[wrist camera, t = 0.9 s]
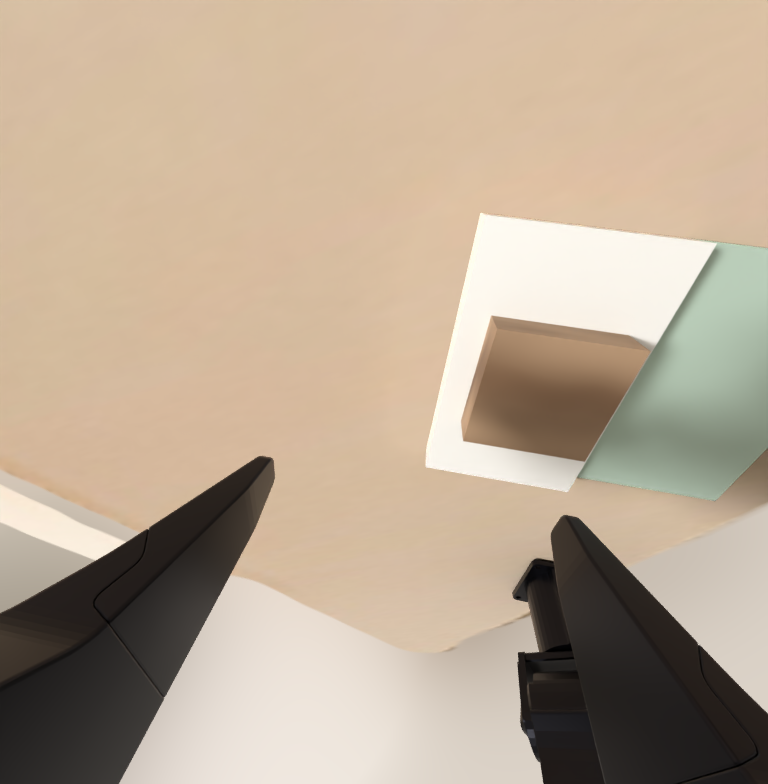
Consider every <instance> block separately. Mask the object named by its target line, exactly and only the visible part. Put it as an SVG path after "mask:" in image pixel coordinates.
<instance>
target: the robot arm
mask: <svg viewBox="0 0 768 784" xmlns="http://www.w3.org/2000/svg"><path fill="white" fill-rule="evenodd" d="M274 479H275V472H274V461H273V459H272V458H271V457H265V456H259V457H257V458H255V459H254V460H252V461H251V462H249V463H247V464H246V465H244V466H243V467H241V468H240V469H238V470H237V471H235V472H234V473H232V474H231V475H229V476H227V477H226V478H224V479H223V480H221V481H220V482H218V483H217V484H215V485H214V486H212V487H211V488H209V489H208V490H206V491H204V492H203V493H201V494H200V495H198V496H197V497H195V498H194V499H192V500H191V501H189V502H188V503H186V504H184V505H183V506H181V507H180V508H178V509H177V510H175V511H174V512H172V513H171V514H169V515H168V516H166V517H165V518H163V519H161V520H160V521H158V522H157V523H155V524H154V525H152V526H151V527H150V528H149V530H148V529H146V530H144V531H143V532H141V533H140V534H138V535H137V536H135V537H134V538H132V539H131V540H129V541H127V542H126V543H124V544H123V545H121V546H119V547H118V548H116V549H115V550H113V551H111V552H110V553H108V554H106V555H105V556H103V557H101V558H99V559H98V560H96V561H94V562H92V563H91V564H89V565H87V566H86V567H84V568H82V569H80V570H79V571H77V572H75V573H73V574H71V575H70V576H68V577H66V578H64V579H62V580H61V581H59V582H57V583H56V584H54V585H52V586H50V587H48V588H46V589H45V590H43V591H41V592H39V593H37V594H36V595H34V596H32V597H30V598H29V599H27V600H25V601H23V602H21V603H19V604H18V605H16V606H14V607H12V608H10V609H8V610H6V611H4V612H1V613H0V784H119V782H120V780H121V779H122V777H123V775H124V773H125V771H126V769H127V767H128V766H129V763H130V762H131V760H132V758H133V756H134V754H135V752H136V751H137V748H138V747H139V745H140V743H141V741H142V739H143V737H144V736H145V734H146V731H147V730H148V728H149V726H150V724H151V722H152V721H153V719H154V717H155V715H156V713H157V711H158V709H159V707H160V706H161V704H162V702H163V700H164V697H165V696H166V694H167V692H168V690H169V688H170V687H171V685H172V683H173V681H174V679H175V677H176V675H177V674H178V672H179V670H180V668H181V666H182V664H183V662H184V660H185V658H186V657H187V655H188V653H189V651H190V649H191V647H192V645H193V644H194V641H195V640H196V638H197V636H198V634H199V632H200V631H201V629H202V627H203V625H204V623H205V621H206V619H207V617H208V616H209V614H210V612H211V610H212V608H213V606H214V604H215V603H216V600H217V599H218V597H219V595H220V593H221V591H222V589H223V587H224V586H225V584H226V582H227V580H228V578H229V576H230V574H231V573H232V571H233V569H234V567H235V565H236V563H237V561H238V560H239V558H240V556H241V554H242V552H243V550H244V548H245V546H246V545H247V543H248V541H249V539H250V537H251V535H252V533H253V531H254V529H255V527H256V525H257V522H258V520H259V518H260V515H261V513H262V510H263V508H264V505H265V503H266V500H267V498H268V495H269V493H270V490H271V488H272V485H273V483H274ZM551 544H552V551H553V558H554V563H551V562H546V561H541V560H534V561H532V562H531V563H530V565H529V567H528V568H527V570H526V572H525V573H524V575H523V576H522V578H521V580H520V581H519V583H518V584H517V586H516V588H515V589H514V591H513V593H512V594H513V598H514V599H516V600H520V601H525V602H528V604H529V608H530V613H531V617H532V621H533V626H534V630H535V635H536V639H537V644H538V648H539V652H537V653H525V652H518V658H519V662H518V675H519V687H520V699H521V716H520V717H521V718H520V723H521V727H522V730H523V731H524V733H525V734H526V735H527V736H528V738H529V740H530V744H531V747H532V750H533V753H534V755H535V757H536V759H537V760H538V761H539V762H540V763H541V770H542V777H543V783H544V784H768V713H767V712H766V711H764V710H763V709H762V708H761V707H760V706H759V705H758V704H757V703H756V702H755V701H754V700H753V699H752V698H751V697H750V696H749V695H748V694H747V693H746V692H745V691H744V690H743V689H742V688H741V687H740V686H739V685H738V684H737V683H736V682H735V681H734V680H733V679H732V678H731V677H730V676H729V675H728V674H727V673H726V672H725V671H724V670H723V669H722V668H721V667H720V665H719V664H718V663H717V662H716V661H715V660H714V659H713V658H712V657H711V656H710V655H709V654H708V653H707V652H706V651H705V650H704V649H703V648H702V647H701V646H700V645H698V644H697V642H696V640H695V639H694V638H693V637H692V636H691V635H690V634H689V633H688V632H687V631H686V630H685V629H684V628H683V627H682V626H681V625H680V624H679V623H678V622H677V621H676V620H675V618H674V617H672V615H671V614H670V613H669V612H668V611H667V610H666V609H665V608H664V607H663V606H662V605H661V604H660V603H659V602H658V601H657V600H656V599H655V598H654V597H653V595H651V594H650V592H649V591H648V590H647V589H646V588H645V587H644V586H643V585H642V584H641V583H640V582H639V581H638V580H637V579H636V578H635V576H633V574H632V573H631V572H630V571H629V570H628V569H627V568H626V567H625V566H624V565H623V564H622V563H621V562H620V561H619V560H618V559H617V558H616V557H615V555H614V554H613V553H612V552H611V551H610V550H609V549H608V548H607V547H606V546H605V545H604V544H603V543H602V542H601V541H600V540H599V539H598V538H597V537H596V536H595V534H594V533H593V532H592V531H591V530H590V529H589V528H588V527H587V526H586V525H585V524H584V523H583V522H582V521H581V520H580V519H579V518H577V517H573V516H568V515H563V516H562V517H561V518H560V519H559V521H558V522H557V524H556V525H555V527H554V528H553V530H552V532H551Z"/></svg>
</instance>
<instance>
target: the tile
mask: <svg viewBox="0 0 768 784" xmlns="http://www.w3.org/2000/svg"><path fill="white" fill-rule="evenodd" d="M650 352H651V351H650V350H648V349H647V348H646V347H644V346H643V345H642V344H640V343H639V342H638V341H636V340H635V339H633V338H632V337H631V336H629V335H624V334H617V333H610V332H603V331H596V330H589V329H582V328H575V327H568V326H562V325H555V324H548V323H541V322H534V321H527V320H520V319H513V318H506V317H499V316H492V315H491V318H490V321H489V325H488V328H487V332H486V335H485V339H484V342H483V346H482V349H481V353H480V356H479V360H478V363H477V367H476V370H475V374H474V377H473V380H472V384H471V387H470V391H469V394H468V398H467V401H466V405H465V408H464V412H463V415H462V419H461V428H462V437H463V441H465V442H471V443H477V444H483V445H489V446H495V447H500V448H506V449H512V450H518V451H524V452H530V453H536V454H542V455H548V456H554V457H560V458H565V459H571V460H577V461H583V462H585V461H586V459H587V457H588V456H589V454H590V452H591V451H592V449H593V447H594V446H595V444H596V442H597V441H598V439H599V437H600V435H601V434H602V432H603V430H604V429H605V427H606V425H607V424H608V422H609V420H610V419H611V417H612V415H613V414H614V412H615V410H616V409H617V407H618V405H619V404H620V402H621V400H622V399H623V397H624V395H625V394H626V392H627V390H628V389H629V387H630V385H631V384H632V382H633V380H634V379H635V377H636V375H637V374H638V372H639V370H640V369H641V367H642V365H643V364H644V362H645V360H646V359H647V357H648V355H649V354H650Z"/></svg>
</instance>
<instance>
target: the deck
mask: <svg viewBox="0 0 768 784" xmlns="http://www.w3.org/2000/svg"><path fill="white" fill-rule="evenodd" d="M716 245H717V243H712V242H706V241H700V240H695V239H689V238H682V237H673V236H665V235H657V234H649V233H641V232H633V231H625V230H617V229H609V228H600V227H592V226H584V225H576V224H568V223H560V222H552V221H544V220H536V219H528V218H519V217H511V216H503V215H495V214H487V213H480V217H479V222H478V226H477V231H476V235H475V239H474V244H473V248H472V252H471V257H470V261H469V265H468V270H467V274H466V278H465V283H464V287H463V291H462V296H461V300H460V305H459V309H458V313H457V318H456V322H455V326H454V331H453V335H452V339H451V344H450V348H449V352H448V357H447V361H446V365H445V370H444V374H443V379H442V383H441V387H440V392H439V396H438V400H437V405H436V409H435V413H434V418H433V422H432V426H431V431H430V435H429V439H428V444H427V448H426V467H428V468H433V469H439V470H445V471H450V472H456V473H462V474H468V475H473V476H479V477H485V478H490V479H496V480H502V481H507V482H513V483H519V484H524V485H530V486H536V487H542V488H547V489H553V490H559V491H564V492H568V491H569V489H570V488H571V486H572V484H573V483H574V481H575V479H576V478H577V476H578V474H579V473H580V471H581V469H582V468H583V466H584V464H585V463H586V461H587V459H588V458H589V456H590V454H591V453H592V451H593V449H594V448H595V446H596V444H597V443H598V441H599V439H600V438H601V436H602V434H603V433H604V431H605V429H606V428H607V426H608V424H609V423H610V421H611V419H612V418H613V416H614V414H615V413H616V411H617V409H618V408H619V406H620V404H621V403H622V401H623V399H624V398H625V396H626V394H627V393H628V391H629V389H630V388H631V386H632V384H633V383H634V381H635V379H636V378H637V376H638V374H639V373H640V371H641V369H642V368H643V366H644V364H645V363H646V361H647V359H648V358H649V356H650V354H651V353H652V351H653V349H654V348H655V346H656V344H657V343H658V341H659V339H660V338H661V336H662V334H663V333H664V331H665V329H666V328H667V326H668V324H669V323H670V321H671V319H672V318H673V316H674V314H675V313H676V311H677V309H678V308H679V306H680V304H681V303H682V301H683V300H684V298H685V296H686V295H687V293H688V291H689V290H690V288H691V286H692V285H693V283H694V281H695V280H696V278H697V276H698V275H699V273H700V271H701V270H702V268H703V266H704V265H705V263H706V261H707V260H708V258H709V256H710V255H711V253H712V251H713V250H714V248H715V246H716ZM491 315H492V316H499V317H506V318H513V319H520V320H527V321H534V322H541V323H548V324H555V325H562V326H568V327H575V328H582V329H589V330H596V331H603V332H610V333H617V334H624V335H629V336H631V337H632V338H633V339H635V340H636V341H638V342H639V343H640V344H642V345H643V346H644V347H646V348H647V349H648V350H650V351H651V352H650V354H649V355H648V357H647V359H646V360H645V362H644V364H643V365H642V367H641V369H640V370H639V372H638V374H637V375H636V377H635V379H634V380H633V382H632V384H631V385H630V387H629V389H628V390H627V392H626V394H625V395H624V397H623V399H622V400H621V402H620V404H619V405H618V407H617V409H616V410H615V412H614V414H613V415H612V417H611V419H610V420H609V422H608V424H607V425H606V427H605V429H604V430H603V432H602V434H601V435H600V437H599V439H598V441H597V442H596V444H595V446H594V447H593V449H592V451H591V452H590V454H589V456H588V457H587V459H586V461H585V462H583V461H577V460H571V459H565V458H560V457H554V456H548V455H542V454H536V453H530V452H524V451H518V450H512V449H506V448H500V447H495V446H489V445H483V444H477V443H471V442H465V441H463V437H462V428H461V419H462V415H463V412H464V408H465V405H466V401H467V398H468V394H469V391H470V387H471V384H472V380H473V377H474V374H475V370H476V367H477V363H478V360H479V356H480V353H481V349H482V346H483V342H484V339H485V335H486V332H487V328H488V325H489V321H490V318H491Z"/></svg>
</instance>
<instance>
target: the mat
mask: <svg viewBox="0 0 768 784" xmlns="http://www.w3.org/2000/svg"><path fill="white" fill-rule="evenodd" d="M695 240H698V239H695ZM700 241H706V240H700ZM706 242H712V243H717V245H716V246H715V248H714V250H713V251H712V253H711V255H710V256H709V258H708V260H707V261H706V263H705V265H704V266H703V268H702V270H701V271H700V273H699V275H698V276H697V278H696V280H695V281H694V283H693V285H692V286H691V288H690V290H689V291H688V293H687V295H686V296H685V298H684V300H683V301H682V303H681V304H680V306H679V308H678V309H677V311H676V313H675V314H674V316H673V318H672V319H671V321H670V323H669V324H668V326H667V328H666V329H665V331H664V333H663V334H662V336H661V338H660V339H659V341H658V343H657V344H656V346H655V348H654V349H653V351H652V353H651V354H650V356H649V358H648V359H647V361H646V363H645V364H644V366H643V368H642V369H641V371H640V373H639V374H638V376H637V378H636V379H635V381H634V383H633V384H632V386H631V388H630V389H629V391H628V393H627V394H626V396H625V398H624V399H623V401H622V403H621V404H620V406H619V408H618V409H617V411H616V413H615V414H614V416H613V418H612V419H611V421H610V423H609V424H608V426H607V428H606V429H605V431H604V433H603V434H602V436H601V438H600V439H599V441H598V443H597V444H596V446H595V448H594V449H593V451H592V453H591V454H590V456H589V458H588V459H587V461H586V463H585V464H584V466H583V468H582V469H581V471H580V473H579V474H578V476H577V477H579V478H584V479H590V480H596V481H602V482H608V483H613V484H619V485H625V486H631V487H637V488H642V489H648V490H654V491H660V492H666V493H671V494H677V495H683V496H689V497H695V498H700V499H706V500H712V501H716V500H717V499H718V498H719V497H720V496H721V495H722V494H723V493H724V492H725V491H726V490H727V489H728V488H729V487H730V486H731V485H732V484H733V483H734V482H735V481H736V480H737V479H738V478H739V477H740V476H741V475H742V474H743V473H744V472H745V471H746V470H747V469H748V468H749V467H750V466H751V465H752V463H753V462H754V461H755V460H756V459H757V458H758V457H759V456H760V455H761V454H762V453H763V452H764V451H765V450H766V449H767V448H768V248H763V247H754V246H746V245H738V244H730V243H722V242H714V241H706Z"/></svg>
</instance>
